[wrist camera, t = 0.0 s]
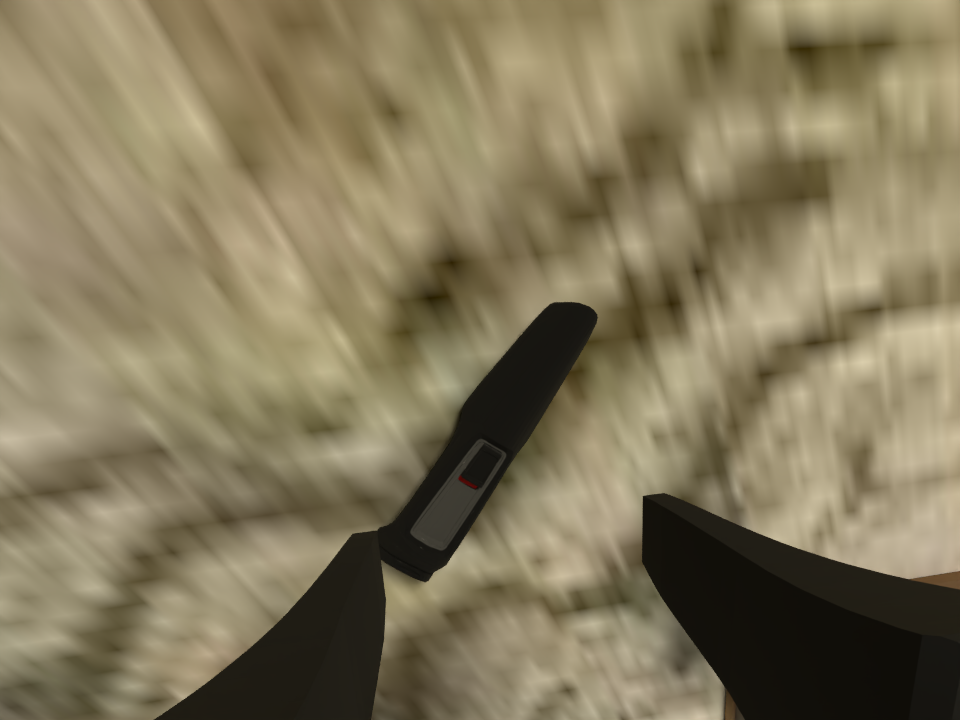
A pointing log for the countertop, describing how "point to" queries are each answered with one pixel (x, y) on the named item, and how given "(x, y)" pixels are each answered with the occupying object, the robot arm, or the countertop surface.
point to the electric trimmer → (486, 441)
